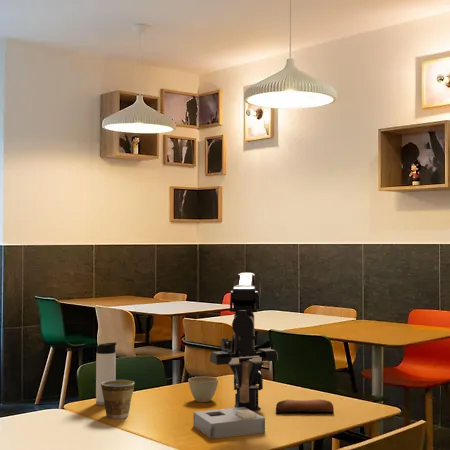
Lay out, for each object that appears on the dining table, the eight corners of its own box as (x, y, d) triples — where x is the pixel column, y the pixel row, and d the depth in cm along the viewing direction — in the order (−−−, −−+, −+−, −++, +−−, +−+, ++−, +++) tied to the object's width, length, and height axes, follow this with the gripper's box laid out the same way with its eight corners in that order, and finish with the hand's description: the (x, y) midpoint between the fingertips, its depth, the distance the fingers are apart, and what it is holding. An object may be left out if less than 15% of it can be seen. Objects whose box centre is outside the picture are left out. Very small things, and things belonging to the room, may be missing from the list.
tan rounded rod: (246, 400, 191) (246, 361, 192) (250, 402, 189) (250, 362, 189) (238, 401, 190) (238, 361, 191) (241, 403, 188) (241, 363, 188)
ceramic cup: (140, 415, 206) (141, 382, 206) (114, 422, 198) (114, 387, 199) (114, 408, 214) (114, 377, 215) (88, 414, 207) (88, 381, 207)
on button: (248, 416, 192) (248, 409, 192) (255, 420, 188) (255, 412, 188) (236, 417, 191) (236, 410, 191) (243, 421, 187) (243, 414, 187)
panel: (244, 420, 200) (244, 406, 200) (265, 432, 187) (264, 417, 187) (193, 425, 194) (193, 411, 194) (211, 438, 181) (211, 423, 181)
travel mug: (112, 406, 218) (112, 344, 218) (93, 405, 219) (93, 343, 220) (119, 401, 224) (119, 341, 224) (100, 401, 225) (100, 340, 226)
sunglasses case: (330, 407, 216) (331, 391, 213) (333, 423, 210) (334, 407, 207) (273, 407, 216) (274, 391, 213) (275, 423, 210) (275, 407, 207)
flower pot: (223, 399, 228) (223, 378, 228) (207, 405, 219) (207, 383, 219) (199, 396, 233) (199, 375, 233) (182, 401, 224) (182, 379, 225)
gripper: (262, 326, 201) (262, 379, 201) (203, 329, 194) (203, 384, 194) (278, 331, 191) (278, 386, 190) (217, 334, 184) (217, 392, 183)
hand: (244, 387), depth 190 cm, fingers closed on tan rounded rod, 3 cm apart
